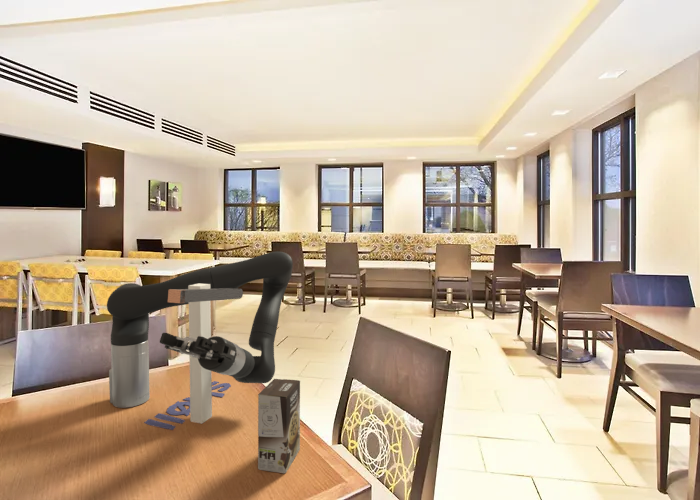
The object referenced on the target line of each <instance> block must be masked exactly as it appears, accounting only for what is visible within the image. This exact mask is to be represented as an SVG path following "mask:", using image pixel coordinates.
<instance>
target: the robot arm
mask: <svg viewBox="0 0 700 500" xmlns="http://www.w3.org/2000/svg"><path fill="white" fill-rule="evenodd" d="M293 263H294V262H293V258H292V257H291V256H290V254H288V253H286V252H283V251H270V252H267V253H263V254H260V255H258V256H254V257H252V258H248V259H245V260H240V261H236V262H231V263H227V264H222V265H218V266H211V267H207V268H201V269H197V270H193V271H190V272H187V273H184V274H181V275H178V276H176V277H173V278H170V279H167V280H165V281H162V282H157V283H152V284H146V285H145V284H144V285H141V284H138V283H135V282H134V283H131V282H129V283H128V282H127V283H123V284H122V285H119V286H118V287H117V288H115V290H113V291H112V292H111V294H110V295H109V297H108V299H107V301H106V308H107V309H106V310H107V311H108V313H109V314H110V315H111V317H112V323H111V325H112V326H111V332H110V350H111V351H110V354H111V368H110V369H108V370H109V371H108V379H109V380H108V382H109V384H108V385H109V403H110V404H112V406H114V407H115V408H122V409H123V408H133V407H136V406H139V405H142V404H144V403H146V402H147V401H149V400H150V397H151V396H150V354H149V353H150V352H149V350H150V349H149V328H150V314H151V313H154V312H157V311H160V310H164V309H167V308H172V307H179V306H185V305H189V302H186V303H171V302H168V291H169V289H188V286H189V285H194V284H199V283H200V284H210V289H216V288H237V289H239V288H240V287H242V286H243V285H247V284H248V283H250V282H254V281H258V280H262V279H263V281H262V292H261V293H262V294H261V298H260V302H259V304H258V308H257V310H256V313H255V315H254V318H253V322H252V326H251V330H250V334H249V338H248V345H249V347H250V348H251V349H254V350H257V351H260V352H261V353H260V355H253V354H252V353H251V352H250V351H248V350H247V349H244V348H242V347H241V346H239V345H238V344H236V343H234V342H232V341H231V340H228V339H227V338H224V337H222V336H219V335H216V336H215V335H214V336H211V337H210V338H208V339H207V338H204V337H202V336H198V337H197V339H193V338H190V337H189V336H187V337H186V336H185V337H184V338H183V337H180V336H178V335H173V334H171V333H168V332H162V333H161V336H160V338H159V343H160V344H161V345H164V348H165V349H166V350H171V351H174V352H177V353H179V354H181V355H188V356H189V355H191V356H192V357H194V358H198V361H199V364H200V365H201V366H202V367H203V368H204V369H207V370H210V371H211V372H214V373H215V374H216V373H217V374H219V375H223V376H224V375H225V376H229V377H232V378H233V379H234V380H235V381H237V382H239V383H242V384H243V383H244V384H267V383H268V384H269V383H270V382H271V381H272V380H273V379H274V376H275V372H276V362H275V340H276V335H277V330H278V326H279V325H278V324H279V318H280V311H281V305H282V301H283V298H284V295H285V293H286V290H287V287H288V285H289V282H290V280H291V279H292V274H293V273H292V272H293ZM189 341H192V342H191V344H190V346H189Z"/></svg>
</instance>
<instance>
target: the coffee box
mask: <svg viewBox="0 0 700 500" xmlns="http://www.w3.org/2000/svg"><path fill="white" fill-rule="evenodd" d="M257 397H258V400H257V401H258V402H257V403H258V406H257V407H258V410H257V414H258V415H257V419H258V421H257V424H258V425H257V427H258V428H257V431H258V432H257V434H258V436H257V443H258V444H257V469H258V470H260V471H265V472H266V471H267V472H272V473H273V472H274V473H280V474H286V473H287V472H288V471H289V468H290V467H291V465H292V463H293V462H294V460H295V459H296V457H297V455H298V453H299V451H300V450H301V380H298V379H285V378H283V379H281V378H273V379H272V380H270V381H269V382H268V384H267V385H266V386H265V387H264V388H263V389H262V390H261V391H260V392H258V396H257Z"/></svg>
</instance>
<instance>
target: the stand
mask: <svg viewBox="0 0 700 500" xmlns="http://www.w3.org/2000/svg"><path fill="white" fill-rule="evenodd" d="M188 289H210V284H200V283H199V284H194V285H189V286H188ZM211 302H212V301H200V302H189V304H188V337H190V338H193V339H197V337H198V336H202V337H204V338H207V339H208V338H210V337H212V320H211V319H212V309H211V307H212V305H211ZM191 342H192V341H188V346H190V344H191ZM188 356H189V357H188V358H189V397H190V401H189V402H190V413H189V415H190V419H189V421H190V422H191V423H197V424H203V423H206V421H208V420H209V419H211V418H212V417H213V396H212V392H213V390H212V387H213V386H212V382H213V381H212V378H213V377H212V371H210V370H207V369H204V368H203V367H202V366H201V365H200V364H199V361H198V358H194V357H192V356H191V355H188Z"/></svg>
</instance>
